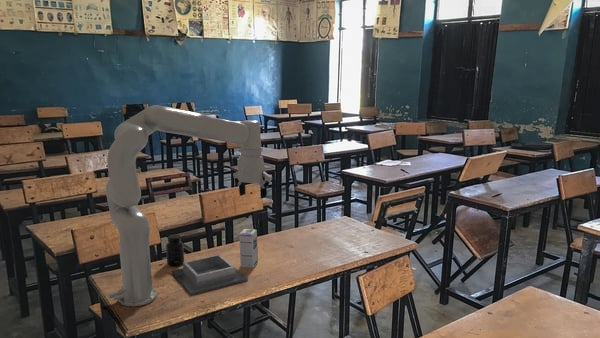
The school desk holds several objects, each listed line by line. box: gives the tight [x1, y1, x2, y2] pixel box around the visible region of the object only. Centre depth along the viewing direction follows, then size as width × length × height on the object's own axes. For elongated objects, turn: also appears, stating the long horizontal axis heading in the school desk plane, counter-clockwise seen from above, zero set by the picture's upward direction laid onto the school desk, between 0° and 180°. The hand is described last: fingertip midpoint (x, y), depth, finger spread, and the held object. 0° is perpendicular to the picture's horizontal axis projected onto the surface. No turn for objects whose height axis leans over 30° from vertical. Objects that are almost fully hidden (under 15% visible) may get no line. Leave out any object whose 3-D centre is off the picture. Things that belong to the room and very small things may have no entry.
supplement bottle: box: [165, 234, 185, 268], centre depth 183 cm, size 7×7×12 cm
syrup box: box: [238, 228, 259, 269], centre depth 182 cm, size 6×6×14 cm
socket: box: [171, 253, 249, 296], centre depth 172 cm, size 22×22×5 cm
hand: (253, 196), depth 175 cm, fingers open, 9 cm apart
